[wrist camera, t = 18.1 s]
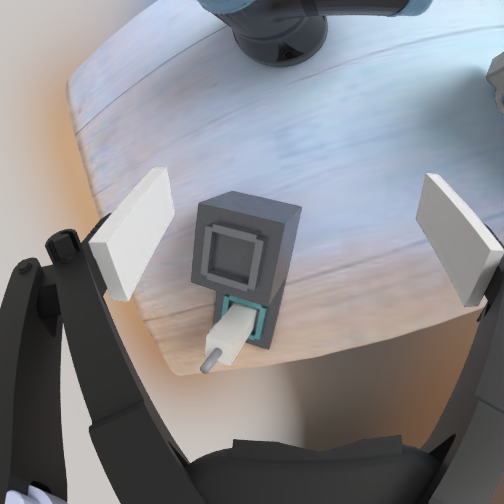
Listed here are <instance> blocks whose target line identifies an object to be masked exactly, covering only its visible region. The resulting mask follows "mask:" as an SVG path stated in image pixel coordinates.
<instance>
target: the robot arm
mask: <svg viewBox="0 0 504 504" xmlns="http://www.w3.org/2000/svg"><path fill="white" fill-rule="evenodd" d="M197 1H198V2H199V3H200V4H201V6H202V7H203V8H204V9H205V10H208V11H209V12H211V13H212V14H214V15H215V16H216V17H218V18H219V19H220V20H222V21H223V22H224V23H226V24H227V25H228V26H230V27H231V28H232V29H233V34H234V38H235V40H236V42H237V44H238V46H239V47H240V48H241V50H242V51H243V52H244V53H245V54H247V55H248V56H249V57H250V58H252V59H253V60H255V61H257V62H259V63H261V64H264V65H268V66H274V67H286V66H292V65H295V64H298V63H301V62H303V61H305V60H307V59H309V58H310V57H312V56H313V55H314V54H315V53H316V52H317V51H318V50H319V49H320V48H321V46H322V45H323V43H324V41H325V39H326V36H327V32H328V22H327V18H326V16H328V15H377V16H387V17H395V16H417V15H420V14H422V13H424V12H425V11H426V10H427V9H428V8H429V7H430V5H431V3H432V1H433V0H197ZM174 215H175V212H174V206H173V201H172V195H171V189H170V183H169V177H168V171H167V167H155V168H152V169H151V170H150V171H149V172H148V173H147V175H146V176H145V177H144V178H143V179H142V180H141V181H140V182H139V183H138V184H137V185H136V186H135V188H134V189H133V190H132V191H131V192H130V193H129V194H128V195H127V197H126V198H125V199H124V200H123V201H122V202H121V203H120V205H119V206H118V207H117V208H116V209H115V210H114V212H113V213H109V214H108V215H106V216H105V217H104V218H102V219H101V220H100V221H99V222H98V223H97V224H96V226H95V228H93V229H92V231H91V233H89V234H88V235H87V237H86V238H85V239H84V240H83V241H82V243H80V240H79V237H78V235H77V232H76V231H75V230H73V229H65V230H62V231H59V232H57V233H56V234H54V235H52V236H51V237H50V238H49V239H48V240H47V242H46V244H45V247H46V249H47V252H48V254H49V256H50V259H51V261H52V263H53V265H49V266H45V267H41V265H40V263H39V261H38V260H37V258H28V259H26V260H22V261H21V262H20V263H18V265H17V266H16V267H15V268H14V270H13V272H12V274H11V277H10V280H9V283H8V286H7V289H6V292H5V295H4V298H3V301H2V305H1V308H0V504H68V503H67V478H66V468H65V459H64V450H63V439H62V426H61V403H60V365H61V341H62V326H63V324H64V328H65V332H66V337H67V341H68V345H69V349H70V353H71V357H72V360H73V364H74V367H75V371H76V374H77V378H78V381H79V384H80V387H81V391H82V393H83V397H84V400H85V403H86V405H87V408H88V411H89V414H90V417H91V419H92V425H91V426H90V427H89V433H90V437H91V440H92V442H93V445H94V447H95V450H96V452H97V455H98V457H99V459H100V462H101V464H102V466H103V468H104V471H105V473H106V475H107V477H108V479H109V481H110V483H111V485H112V488H113V490H114V492H115V494H116V495H117V497H118V499H119V501H120V503H121V504H490V502H491V500H492V498H493V496H494V494H495V491H496V489H497V487H498V484H499V482H500V480H501V477H502V475H503V472H504V246H503V244H502V243H501V242H500V241H499V239H498V238H497V237H496V235H494V233H493V232H492V230H491V229H490V228H489V227H488V226H487V225H485V224H484V223H483V222H482V221H481V220H480V219H479V218H478V217H477V216H476V214H475V213H474V212H473V211H472V210H471V209H470V208H469V206H468V205H467V204H466V203H465V202H464V201H463V200H462V199H461V198H460V197H459V195H458V194H457V193H456V192H455V191H454V190H453V189H452V188H451V187H450V186H449V185H448V184H447V183H446V182H445V181H444V180H443V179H442V178H441V177H440V176H439V175H438V174H431V173H426V174H425V179H424V184H423V189H422V194H421V198H420V203H419V207H418V211H417V215H416V221H417V222H418V224H419V225H420V227H421V229H422V230H423V232H424V233H425V235H426V237H427V238H428V240H429V242H430V243H431V245H432V247H433V249H434V250H435V252H436V254H437V256H438V257H439V259H440V261H441V263H442V265H443V266H444V268H445V270H446V272H447V274H448V276H449V277H450V279H451V281H452V283H453V285H454V287H455V289H456V291H457V293H458V295H459V297H460V299H461V301H462V303H463V305H464V307H470V306H478V305H479V303H480V301H481V300H482V298H483V296H484V295H485V297H486V298H487V300H488V302H487V304H486V305H485V307H484V309H483V311H482V313H481V314H480V316H479V318H478V319H477V322H479V321H480V323H479V326H478V329H477V332H476V335H475V338H474V341H473V344H472V346H471V349H470V352H469V354H468V357H467V360H466V362H465V365H464V367H463V370H462V372H461V374H460V377H459V379H458V381H457V384H456V386H455V388H454V390H453V392H452V395H451V397H450V399H449V401H448V403H447V405H446V407H445V409H444V411H443V413H442V415H441V417H440V419H439V421H438V423H437V425H436V427H435V428H434V430H433V432H432V434H431V436H430V437H429V439H428V440H427V442H426V443H425V444H424V445H423V446H422V448H421V449H418V448H416V447H413V446H409V445H404V444H402V438H401V435H396V436H388V437H380V438H372V439H363V440H359V441H356V442H354V443H350V444H347V445H344V446H341V447H338V448H334V449H330V450H327V451H322V452H318V451H313V450H308V449H303V448H299V447H295V446H291V445H287V444H283V443H279V442H269V441H267V442H266V441H249V440H237V439H234V440H233V447H232V448H229V449H223V450H219V451H215V452H212V453H210V454H207V455H204V456H202V457H200V458H198V459H196V460H195V461H193V462H192V463H190V462H189V461H188V459H187V458H186V457H185V455H184V454H183V452H182V451H181V449H180V448H179V446H178V445H177V444H176V442H175V441H174V439H173V437H172V436H171V434H170V432H169V431H168V429H167V427H166V426H165V424H164V422H163V420H162V419H161V417H160V415H159V414H158V412H157V410H156V408H155V407H154V405H153V403H152V401H151V399H150V397H149V395H148V393H147V392H146V390H145V388H144V386H143V384H142V382H141V380H140V378H139V376H138V374H137V372H136V370H135V368H134V366H133V364H132V362H131V360H130V358H129V355H128V353H127V351H126V349H125V347H124V345H123V342H122V340H121V338H120V336H119V334H118V331H117V329H116V326H115V324H114V322H113V319H112V317H111V314H110V312H109V310H108V307H107V305H106V302H105V300H104V298H103V295H104V293H105V292H106V290H108V292H109V295H110V297H111V299H112V300H116V301H126V302H128V301H129V299H130V297H131V295H132V293H133V291H134V289H135V287H136V285H137V283H138V281H139V279H140V277H141V276H142V274H143V272H144V270H145V268H146V266H147V264H148V262H149V260H150V258H151V256H152V255H153V253H154V251H155V249H156V247H157V245H158V243H159V242H160V240H161V238H162V236H163V234H164V233H165V231H166V229H167V227H168V225H169V224H170V222H171V220H172V218H173V217H174Z"/></svg>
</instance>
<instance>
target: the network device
mask: <svg viewBox="0 0 504 504" xmlns="http://www.w3.org/2000/svg"><path fill="white" fill-rule="evenodd" d="M486 79H487V81H488V82H489V83H490V84H491V85H493V86H494V87H495V88H496V92H495V101H496V104H497V106H498V108H499V110H500V111H501V112H502V113H503V114H504V106H503V104H502V101H501V99H502V96H503V95H504V52H503V53H501V54H500V55H498V56H497V57H495V58H494V59H493V60H492V62H491V65H490V68H489V70H488V72H487V75H486Z"/></svg>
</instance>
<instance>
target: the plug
mask: <svg viewBox="0 0 504 504" xmlns="http://www.w3.org/2000/svg"><path fill="white" fill-rule="evenodd" d="M256 314H257V309H256V308H253V307H249V306H246V305H243V304H240V303H237V302H235V303H234V304H233V305H232V306H231V307H230V309H229V310H228V311H227V312H226V313H225V315H224V316H223V317H222V318H221V319H220V321H219V322H218V323H217V322H216V323H215V324H214V325H213V326H212V327H211V329H210V330H209V331H208V335H207V337H206V348H205V357H207V359H206V361H205V362H204V363H203V365H202V366H201V367H200V370H201V372H203V373H205V374H207V373H209V371H210V370H211V368H212V367H213V366H214V364H215V363H216V361H217V362H220V363H223V364H226V365H228V366H230V365H231V363H232V362H233V360H234V359H235V357H236V356H237V354H238V352H239V351H240V349H241V348H242V346H243V345H244V343H245V341H246V340H247V338H248V337H249V335H250V333H251V332H252V330H253V329H254V324H255V319H256Z"/></svg>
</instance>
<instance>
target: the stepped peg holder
mask: <svg viewBox="0 0 504 504" xmlns="http://www.w3.org/2000/svg"><path fill="white" fill-rule="evenodd" d="M301 209H302V207H300V206H296V205H292V204H288V203H283V202H279V201H275V200H271V199H266V198H262V197H257V196H253V195H248V194H244V193H239V192H235V191H231V192H228V193H225V194H222V195H219V196H217V197H214V198H211V199H208V200H205V201H202V202H200V203H199V204H198V213H197V222H196V232H195V242H194V252H193V263H192V275H191V282H192V283H195V284H198V285H201V286H204V287H207V288H210V289H213V290H216V291H217V294H216V303H215V311H214V320H213V325H214V324H215V323H216V322H217V323H218V322H219V321H220V319H221V318H222V317H223V316H224V315H225V313H226V312H227V311H228V310H229V309H230V307H231V306H232V305H233V304H234V303H235V302H237V303H240V304H243V305H246V306H249V307H253V308H256V309H257V314H256V319H255V324H254V329H253V330H252V332H251V333H250V335H249V337H248V338H247V340H246V341H245V342H247V343H250V344H253V345H256V346H259V347H262V348H265V349H268V350H269V348H270V346H271V342H272V338H273V334H274V330H275V325H276V321H277V317H278V313H279V309H280V305H281V300H282V296H283V292H284V287H285V283H286V279H287V274H288V270H289V265H290V261H291V256H292V252H293V247H294V242H295V238H296V233H297V228H298V224H299V219H300V214H301Z"/></svg>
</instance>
